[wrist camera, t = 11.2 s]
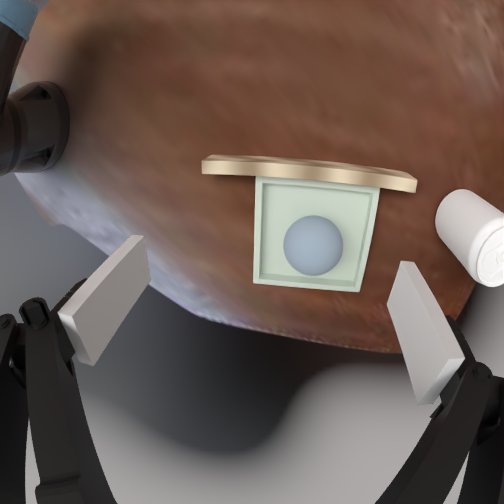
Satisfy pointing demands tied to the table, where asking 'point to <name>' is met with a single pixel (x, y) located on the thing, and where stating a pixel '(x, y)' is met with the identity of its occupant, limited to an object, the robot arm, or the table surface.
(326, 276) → the tray
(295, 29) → the table surface
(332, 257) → the ball
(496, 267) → the beverage can
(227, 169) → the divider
